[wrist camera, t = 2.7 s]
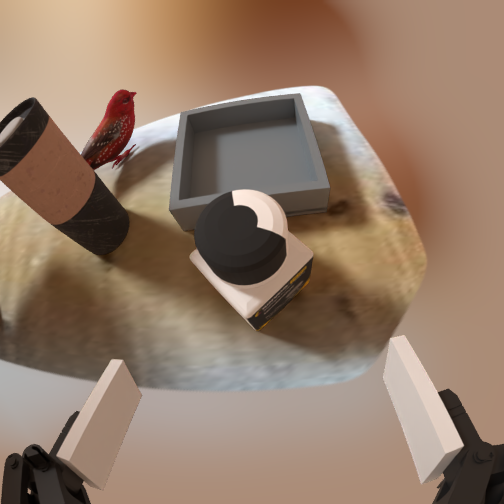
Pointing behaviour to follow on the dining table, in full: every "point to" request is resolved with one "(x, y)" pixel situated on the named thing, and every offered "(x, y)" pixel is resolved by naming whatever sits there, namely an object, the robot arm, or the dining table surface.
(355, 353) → the dining table surface
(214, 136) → the open-top bin
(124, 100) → the decorative bird figurine
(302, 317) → the dining table surface
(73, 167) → the travel mug
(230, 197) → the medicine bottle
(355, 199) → the dining table surface
